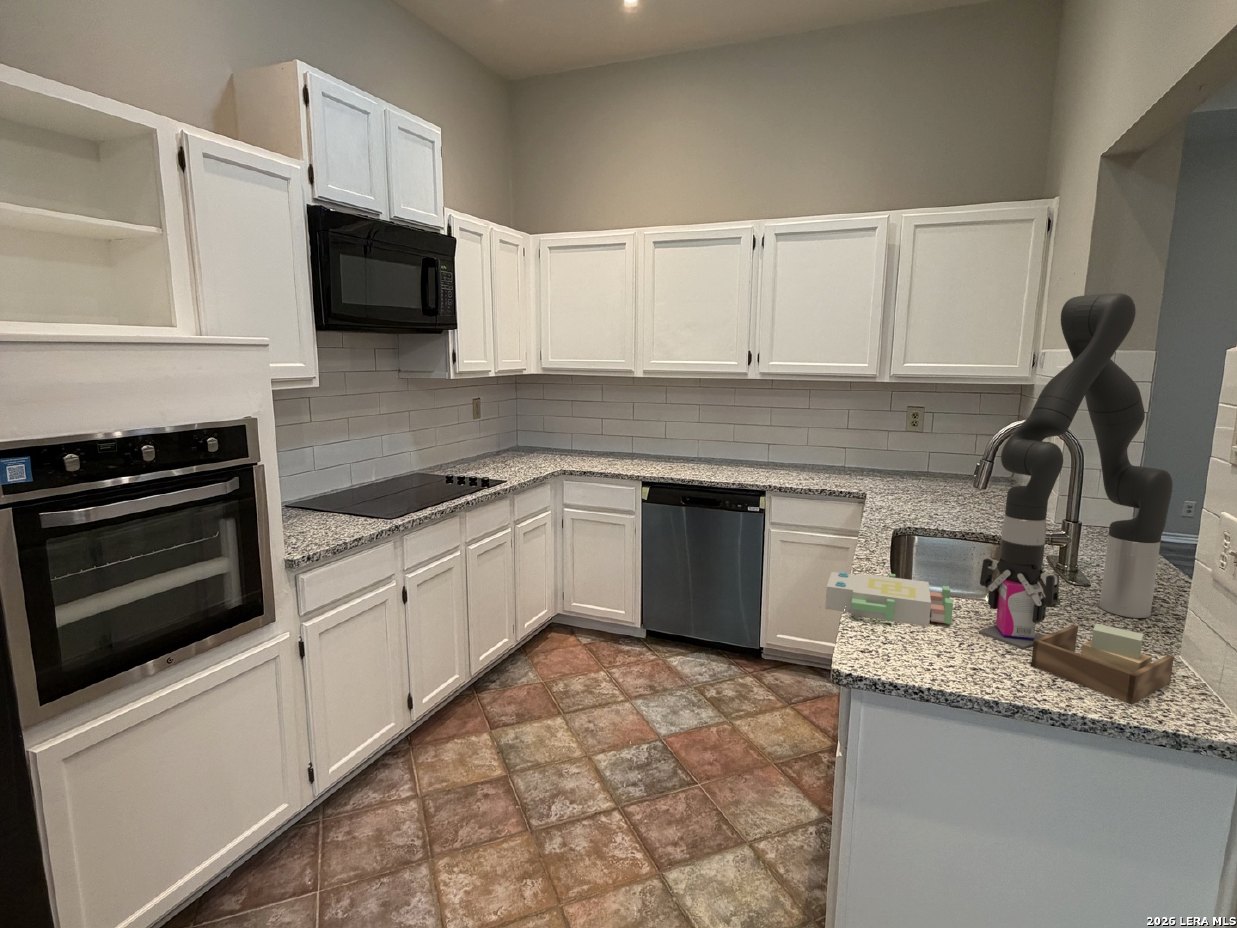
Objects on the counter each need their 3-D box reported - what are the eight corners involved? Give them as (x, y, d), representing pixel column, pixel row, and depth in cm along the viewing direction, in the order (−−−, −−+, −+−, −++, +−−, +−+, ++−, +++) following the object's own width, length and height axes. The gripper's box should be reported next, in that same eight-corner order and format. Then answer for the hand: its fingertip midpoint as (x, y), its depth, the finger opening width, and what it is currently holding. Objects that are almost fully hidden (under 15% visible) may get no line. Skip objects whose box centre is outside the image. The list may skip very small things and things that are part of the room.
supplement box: (1025, 629, 136) (1031, 577, 134) (1034, 641, 131) (1040, 586, 129) (994, 626, 138) (999, 574, 136) (1002, 637, 132) (1008, 583, 130)
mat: (1003, 624, 140) (1003, 622, 140) (1047, 639, 132) (1047, 637, 132) (978, 633, 136) (979, 630, 135) (1023, 649, 128) (1023, 647, 128)
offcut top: (1093, 640, 123) (1096, 623, 123) (1140, 652, 119) (1143, 633, 118) (1090, 647, 120) (1093, 629, 120) (1138, 659, 116) (1141, 640, 115)
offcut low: (1092, 658, 125) (1095, 638, 124) (1148, 677, 117) (1151, 656, 117) (1079, 663, 122) (1082, 643, 122) (1136, 684, 115) (1139, 663, 114)
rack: (1070, 648, 128) (1073, 624, 128) (1170, 682, 115) (1174, 656, 114) (1030, 665, 121) (1033, 640, 120) (1132, 704, 107) (1135, 676, 107)
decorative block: (824, 589, 144) (833, 563, 162) (823, 616, 145) (832, 588, 163) (954, 606, 134) (948, 577, 152) (952, 636, 135) (946, 604, 153)
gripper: (1071, 544, 127) (1062, 623, 129) (998, 528, 139) (990, 600, 141) (1051, 550, 123) (1041, 631, 125) (977, 532, 135) (970, 607, 138)
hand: (1014, 614), depth 133 cm, fingers open, 8 cm apart
